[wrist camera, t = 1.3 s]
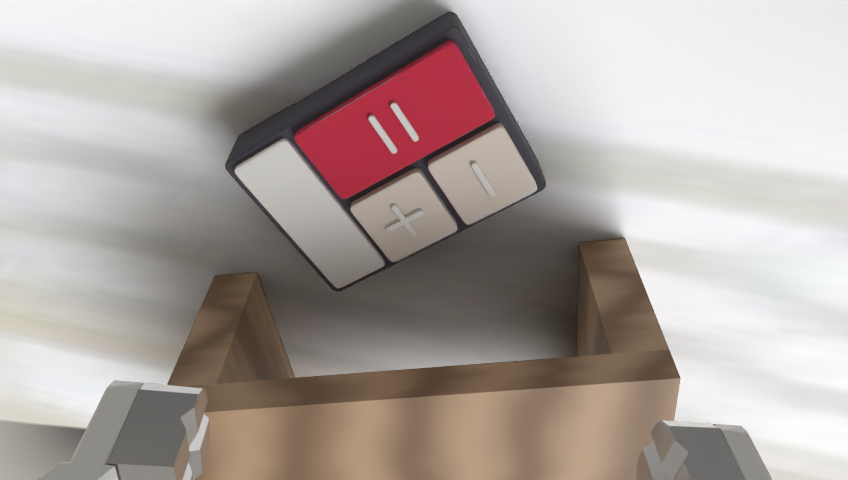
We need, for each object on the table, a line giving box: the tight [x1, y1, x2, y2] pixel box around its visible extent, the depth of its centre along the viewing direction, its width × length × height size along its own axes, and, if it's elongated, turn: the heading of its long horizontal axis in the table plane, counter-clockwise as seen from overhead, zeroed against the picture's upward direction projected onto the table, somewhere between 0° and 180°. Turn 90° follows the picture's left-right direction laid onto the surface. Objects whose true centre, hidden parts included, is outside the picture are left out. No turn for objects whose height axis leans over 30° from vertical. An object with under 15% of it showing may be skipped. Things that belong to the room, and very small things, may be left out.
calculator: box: [225, 12, 546, 291], centre depth 38 cm, size 11×4×15 cm
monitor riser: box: [167, 238, 680, 480], centre depth 43 cm, size 28×16×12 cm, turn 97°
